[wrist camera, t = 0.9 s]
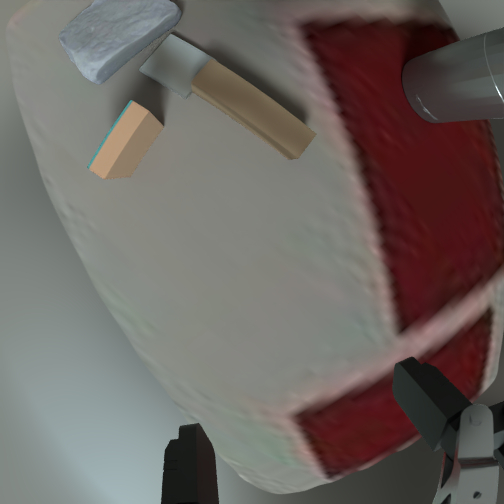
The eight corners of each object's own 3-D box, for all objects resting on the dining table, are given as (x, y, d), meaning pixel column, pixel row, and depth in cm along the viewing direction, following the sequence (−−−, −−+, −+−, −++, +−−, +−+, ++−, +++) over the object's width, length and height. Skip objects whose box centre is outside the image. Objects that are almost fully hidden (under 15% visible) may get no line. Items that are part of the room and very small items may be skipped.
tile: (150, 117, 26) (130, 99, 18) (164, 126, 26) (149, 111, 19) (116, 167, 26) (86, 167, 19) (130, 177, 27) (104, 179, 19)
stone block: (65, 53, 23) (101, 94, 24) (46, 35, 18) (81, 75, 19) (142, -8, 23) (189, 25, 24) (132, -31, 18) (183, -2, 19)
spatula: (171, 37, 24) (168, 23, 20) (309, 130, 28) (322, 126, 25) (141, 72, 24) (133, 61, 21) (282, 167, 29) (292, 166, 26)
